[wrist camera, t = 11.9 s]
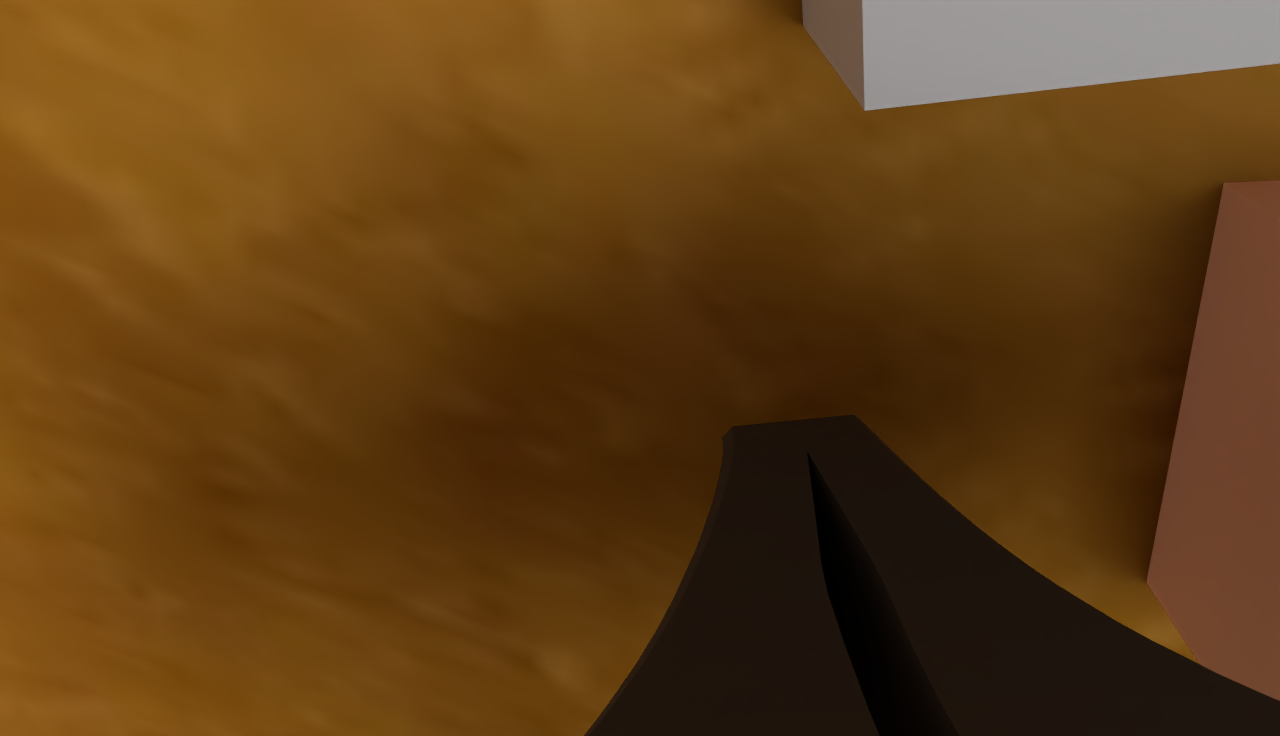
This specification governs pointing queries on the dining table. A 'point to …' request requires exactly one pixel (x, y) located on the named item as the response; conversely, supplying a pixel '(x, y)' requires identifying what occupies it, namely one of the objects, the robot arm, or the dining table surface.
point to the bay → (1031, 43)
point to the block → (1229, 455)
